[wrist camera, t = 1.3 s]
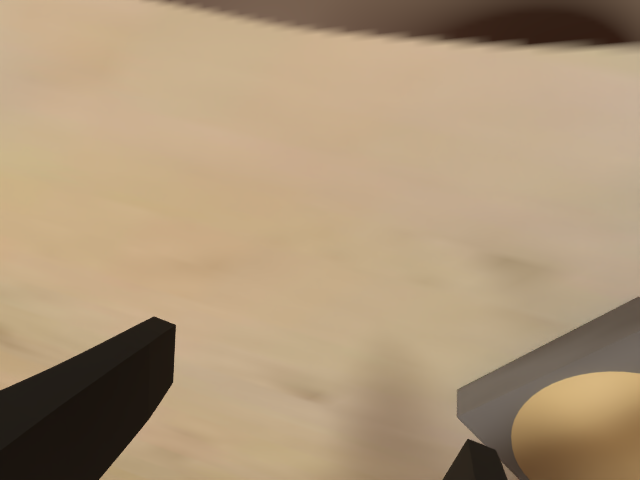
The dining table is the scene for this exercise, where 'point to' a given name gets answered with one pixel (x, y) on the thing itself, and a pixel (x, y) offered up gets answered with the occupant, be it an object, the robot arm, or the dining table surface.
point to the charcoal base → (566, 404)
